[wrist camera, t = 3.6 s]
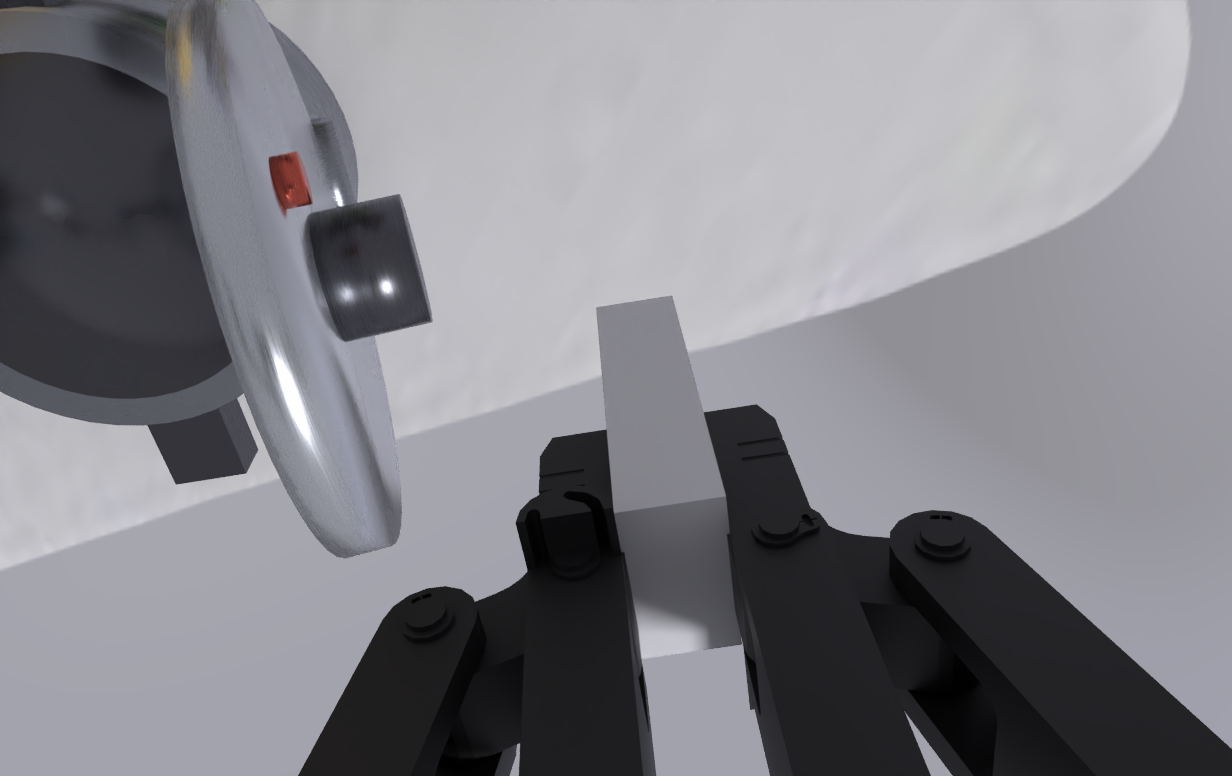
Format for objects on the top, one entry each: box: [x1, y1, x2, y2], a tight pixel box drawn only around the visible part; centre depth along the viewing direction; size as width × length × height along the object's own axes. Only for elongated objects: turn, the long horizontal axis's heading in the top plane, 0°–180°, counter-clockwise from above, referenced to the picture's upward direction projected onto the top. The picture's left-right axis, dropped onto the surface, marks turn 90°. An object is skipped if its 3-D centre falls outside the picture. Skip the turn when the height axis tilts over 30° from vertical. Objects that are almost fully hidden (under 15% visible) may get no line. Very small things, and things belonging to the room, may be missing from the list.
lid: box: [165, 0, 432, 558], centre depth 25 cm, size 15×15×4 cm
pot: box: [0, 0, 358, 484], centre depth 36 cm, size 17×22×10 cm
